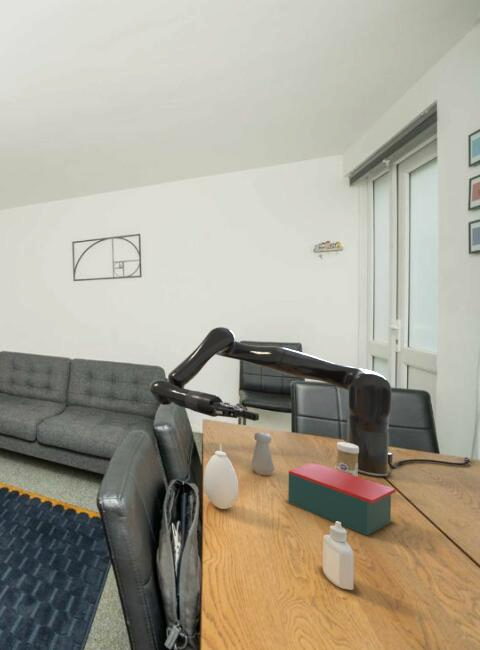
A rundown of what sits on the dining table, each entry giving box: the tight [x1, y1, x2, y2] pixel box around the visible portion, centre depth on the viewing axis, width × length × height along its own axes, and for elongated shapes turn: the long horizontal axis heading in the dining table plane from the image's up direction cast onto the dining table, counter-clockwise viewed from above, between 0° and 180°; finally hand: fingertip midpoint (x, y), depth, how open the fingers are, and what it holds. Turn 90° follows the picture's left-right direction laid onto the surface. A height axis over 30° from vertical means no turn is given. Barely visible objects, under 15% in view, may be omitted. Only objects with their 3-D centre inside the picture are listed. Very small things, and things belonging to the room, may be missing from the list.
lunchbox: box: [287, 473, 392, 536], centre depth 95 cm, size 16×13×8 cm
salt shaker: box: [251, 432, 275, 476], centre depth 118 cm, size 6×6×13 cm
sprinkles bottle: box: [336, 441, 359, 477], centre depth 107 cm, size 5×5×14 cm
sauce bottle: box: [203, 442, 239, 510], centre depth 98 cm, size 8×8×18 cm
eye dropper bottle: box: [322, 521, 355, 591], centre depth 72 cm, size 4×6×12 cm
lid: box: [288, 461, 397, 503], centre depth 95 cm, size 16×13×1 cm
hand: (257, 417), depth 113 cm, fingers closed
